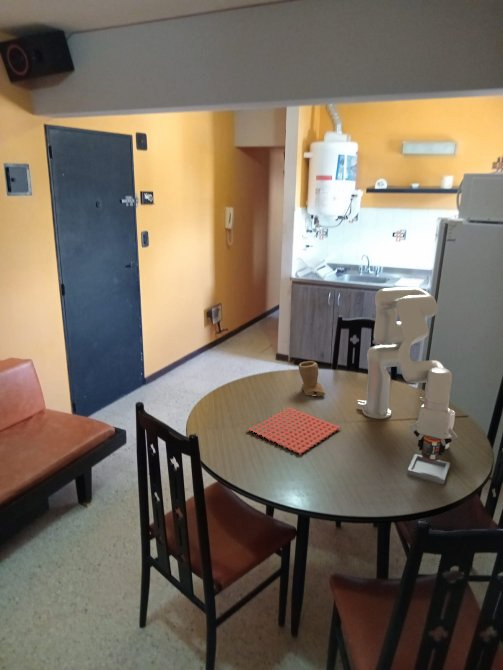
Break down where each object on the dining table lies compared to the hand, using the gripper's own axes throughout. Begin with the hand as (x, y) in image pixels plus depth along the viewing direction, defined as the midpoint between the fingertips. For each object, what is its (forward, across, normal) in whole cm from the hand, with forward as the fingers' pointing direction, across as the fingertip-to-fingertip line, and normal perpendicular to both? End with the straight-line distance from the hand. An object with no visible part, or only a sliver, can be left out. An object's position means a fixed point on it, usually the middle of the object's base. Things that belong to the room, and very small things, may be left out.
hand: (430, 450), depth 161 cm
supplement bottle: (+3, 0, 0) cm, 3 cm away
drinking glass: (+8, +1, +20) cm, 22 cm away
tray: (+8, 0, 0) cm, 8 cm away
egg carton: (+9, -54, +3) cm, 55 cm away
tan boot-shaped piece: (+8, -64, +43) cm, 78 cm away
